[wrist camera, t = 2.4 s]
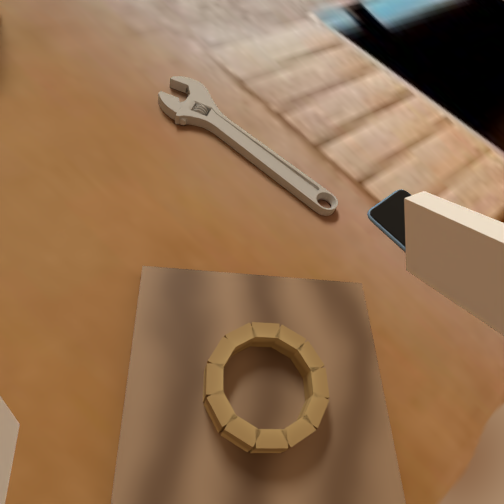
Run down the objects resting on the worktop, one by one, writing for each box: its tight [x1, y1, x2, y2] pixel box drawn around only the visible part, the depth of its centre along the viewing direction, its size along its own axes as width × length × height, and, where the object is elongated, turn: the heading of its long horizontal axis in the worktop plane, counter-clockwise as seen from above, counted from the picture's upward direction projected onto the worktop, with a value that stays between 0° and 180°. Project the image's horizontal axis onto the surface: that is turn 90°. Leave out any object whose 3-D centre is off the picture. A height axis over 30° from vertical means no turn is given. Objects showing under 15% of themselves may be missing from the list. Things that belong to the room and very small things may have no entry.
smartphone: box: [368, 190, 412, 252], centre depth 45 cm, size 7×1×15 cm
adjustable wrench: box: [158, 76, 338, 216], centre depth 47 cm, size 25×6×2 cm, turn 46°
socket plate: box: [111, 266, 406, 504], centre depth 32 cm, size 20×20×3 cm
